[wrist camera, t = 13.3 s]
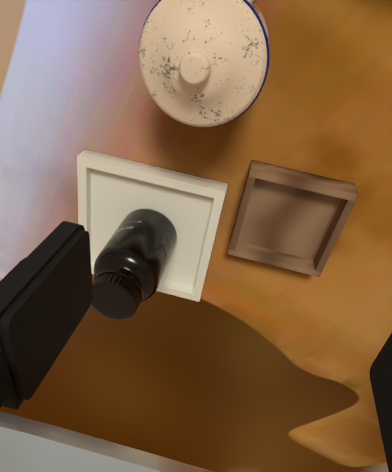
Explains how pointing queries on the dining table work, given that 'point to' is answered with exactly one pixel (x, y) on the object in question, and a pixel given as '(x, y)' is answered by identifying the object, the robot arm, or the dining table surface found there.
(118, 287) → the supplement bottle
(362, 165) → the dining table surface
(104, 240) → the tray
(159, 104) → the teacup with lid
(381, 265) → the dining table surface
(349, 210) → the holder
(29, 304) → the robot arm
